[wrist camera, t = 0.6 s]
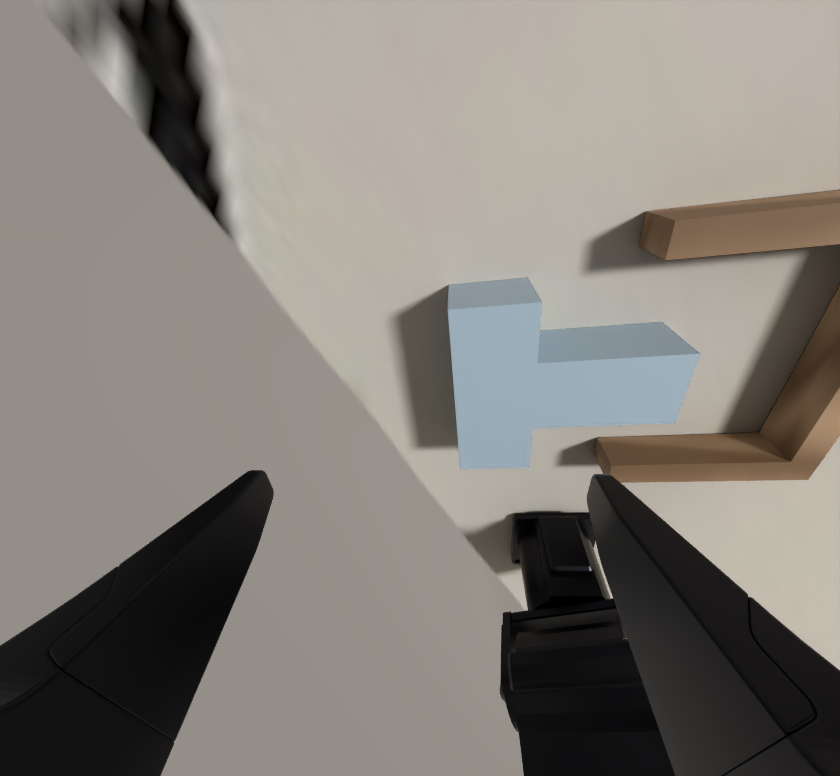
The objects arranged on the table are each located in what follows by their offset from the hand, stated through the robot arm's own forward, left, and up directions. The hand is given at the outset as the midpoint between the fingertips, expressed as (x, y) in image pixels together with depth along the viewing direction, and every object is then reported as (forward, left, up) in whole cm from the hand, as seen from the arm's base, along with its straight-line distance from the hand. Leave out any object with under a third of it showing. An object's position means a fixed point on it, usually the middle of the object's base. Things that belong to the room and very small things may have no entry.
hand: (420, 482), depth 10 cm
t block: (-3, -6, -12) cm, 14 cm away
